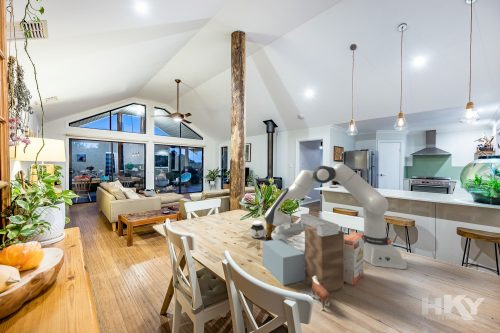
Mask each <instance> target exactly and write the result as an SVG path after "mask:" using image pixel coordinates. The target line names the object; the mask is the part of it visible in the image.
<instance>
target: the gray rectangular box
mask: <svg viewBox="0 0 500 333" xmlns="http://www.w3.org/2000/svg"><path fill="white" fill-rule="evenodd" d="M262 266H263V267H265V269H266V270H267V271H269V273H270V274H271V275H272V276H273V278H275V279H276V280H277V281H278V282H279V283H280V284H281V285H282V286H286V285H287V286H288V285H291V284H295V283H299V282H302V281H305V252H303V251H301V250H300V249H298V248H297V247H295V246H294V245H292V244H291V243H289V242H287V241H286V240H283V239H276V240H273V239H271V240H265V241H262Z"/></svg>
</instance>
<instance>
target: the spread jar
mask: <svg viewBox="0 0 500 333" xmlns="http://www.w3.org/2000/svg"><path fill="white" fill-rule="evenodd" d="M266 229H267V228H266V227H265V226H264V225H263V222H262V221H260V220H255V221H253V222H252V226H251V227H250V235H251V237H252V238H253V239H254V240H261V239H263V238H264V237H267V236H266Z"/></svg>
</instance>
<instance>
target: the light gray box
mask: <svg viewBox="0 0 500 333" xmlns="http://www.w3.org/2000/svg"><path fill="white" fill-rule="evenodd" d="M300 223H304V224H307V225H308V227H314V228H316V229H317V235H319V236H328V235H334V234H338V230H339V224H338V223H335V222H333V221H329V220H326V219H324V218H320V217H319V216H315V215H312V214H309V213H303V214H302V213H301V214H300Z"/></svg>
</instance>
